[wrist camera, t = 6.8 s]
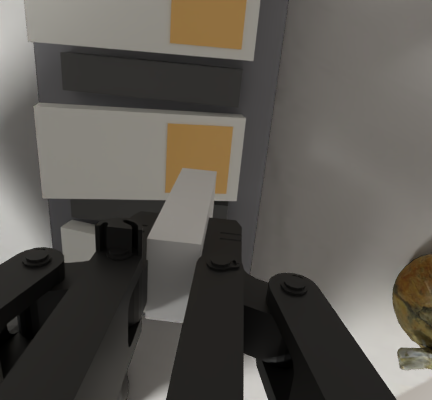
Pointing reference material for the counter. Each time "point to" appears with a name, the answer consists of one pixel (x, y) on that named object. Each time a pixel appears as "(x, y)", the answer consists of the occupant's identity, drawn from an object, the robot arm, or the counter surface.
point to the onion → (415, 312)
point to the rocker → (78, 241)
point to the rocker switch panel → (172, 100)
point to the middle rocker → (133, 150)
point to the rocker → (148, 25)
